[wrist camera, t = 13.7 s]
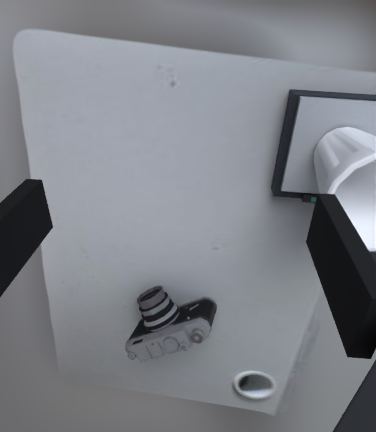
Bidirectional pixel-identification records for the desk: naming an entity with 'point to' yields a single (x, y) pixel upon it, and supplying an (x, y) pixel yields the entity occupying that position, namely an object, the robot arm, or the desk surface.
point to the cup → (350, 176)
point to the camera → (168, 325)
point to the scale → (315, 136)
